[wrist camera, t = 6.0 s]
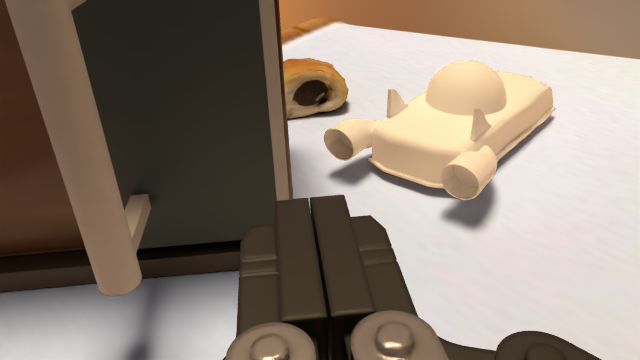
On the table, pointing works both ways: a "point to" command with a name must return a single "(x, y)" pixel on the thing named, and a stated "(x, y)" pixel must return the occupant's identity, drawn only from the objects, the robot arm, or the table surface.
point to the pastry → (312, 87)
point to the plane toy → (449, 128)
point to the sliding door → (158, 120)
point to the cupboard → (52, 198)
